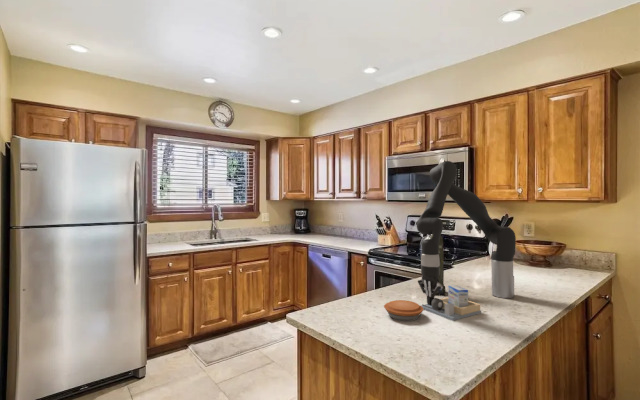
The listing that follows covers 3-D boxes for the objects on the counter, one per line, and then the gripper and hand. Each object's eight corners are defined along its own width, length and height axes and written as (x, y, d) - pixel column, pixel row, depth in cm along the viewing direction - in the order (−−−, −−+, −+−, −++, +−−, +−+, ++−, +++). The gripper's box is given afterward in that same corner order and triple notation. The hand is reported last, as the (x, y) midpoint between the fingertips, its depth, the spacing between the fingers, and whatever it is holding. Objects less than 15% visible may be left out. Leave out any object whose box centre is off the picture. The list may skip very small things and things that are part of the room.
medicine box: (447, 305, 142) (447, 285, 142) (457, 304, 143) (457, 284, 143) (458, 311, 134) (458, 290, 134) (468, 310, 135) (468, 289, 135)
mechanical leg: (448, 296, 155) (445, 233, 162) (432, 295, 157) (430, 233, 164) (443, 294, 168) (441, 236, 175) (429, 294, 170) (426, 236, 177)
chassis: (447, 301, 150) (447, 290, 150) (481, 313, 135) (480, 300, 135) (420, 307, 142) (419, 296, 142) (452, 320, 127) (452, 307, 127)
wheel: (438, 307, 139) (438, 297, 139) (444, 309, 136) (444, 298, 136) (431, 309, 136) (431, 298, 136) (436, 311, 134) (436, 300, 134)
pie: (395, 325, 123) (395, 311, 123) (377, 311, 138) (377, 299, 138) (431, 320, 127) (431, 308, 127) (410, 308, 142) (410, 296, 142)
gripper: (412, 262, 144) (412, 301, 144) (435, 268, 132) (436, 311, 132) (425, 260, 147) (425, 299, 147) (449, 266, 136) (449, 307, 136)
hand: (430, 304), depth 140 cm, fingers closed
